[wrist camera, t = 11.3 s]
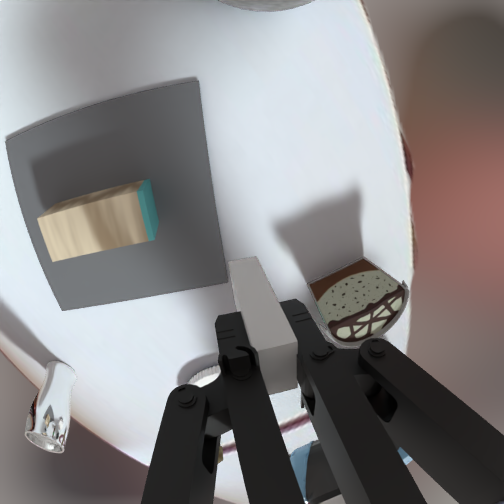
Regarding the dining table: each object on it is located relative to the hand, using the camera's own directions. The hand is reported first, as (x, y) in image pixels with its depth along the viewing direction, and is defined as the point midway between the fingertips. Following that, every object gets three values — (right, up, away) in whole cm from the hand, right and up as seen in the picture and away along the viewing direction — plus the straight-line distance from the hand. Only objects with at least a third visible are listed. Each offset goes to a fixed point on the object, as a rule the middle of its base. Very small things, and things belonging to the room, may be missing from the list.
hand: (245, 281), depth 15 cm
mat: (-16, +6, +14) cm, 22 cm away
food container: (+13, -3, +26) cm, 29 cm away
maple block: (-10, +6, +12) cm, 17 cm away
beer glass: (-33, -19, +23) cm, 44 cm away
